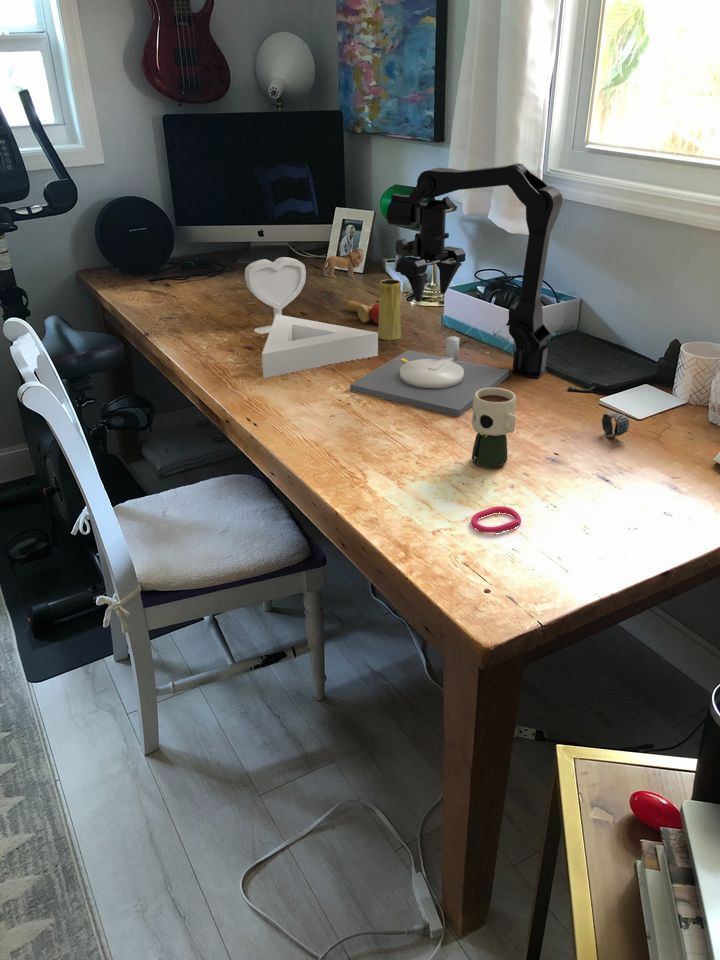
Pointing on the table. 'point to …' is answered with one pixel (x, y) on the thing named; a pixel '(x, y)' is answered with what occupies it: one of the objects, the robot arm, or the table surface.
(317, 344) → the triangle block
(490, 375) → the dial plate
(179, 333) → the table surface
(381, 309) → the vase
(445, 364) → the dial
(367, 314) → the kendama
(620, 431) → the wristwatch
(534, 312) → the robot arm
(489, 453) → the character mug
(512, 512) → the fitness band
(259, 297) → the heart sculpture
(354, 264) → the lion figurine
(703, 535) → the table surface
